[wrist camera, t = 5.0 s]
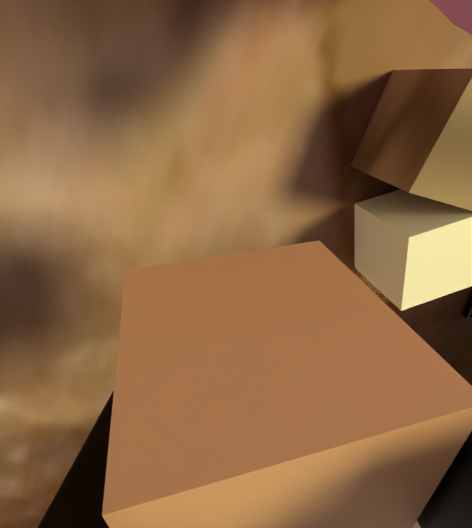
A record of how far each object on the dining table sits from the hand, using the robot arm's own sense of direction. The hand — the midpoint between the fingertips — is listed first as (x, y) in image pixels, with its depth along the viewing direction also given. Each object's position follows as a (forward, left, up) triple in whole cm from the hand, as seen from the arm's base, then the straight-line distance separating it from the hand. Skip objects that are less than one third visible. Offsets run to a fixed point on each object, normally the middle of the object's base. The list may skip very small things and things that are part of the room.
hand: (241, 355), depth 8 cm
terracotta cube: (0, 0, -1) cm, 1 cm away
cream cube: (-3, -13, -11) cm, 17 cm away
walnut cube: (+3, -13, -11) cm, 17 cm away
